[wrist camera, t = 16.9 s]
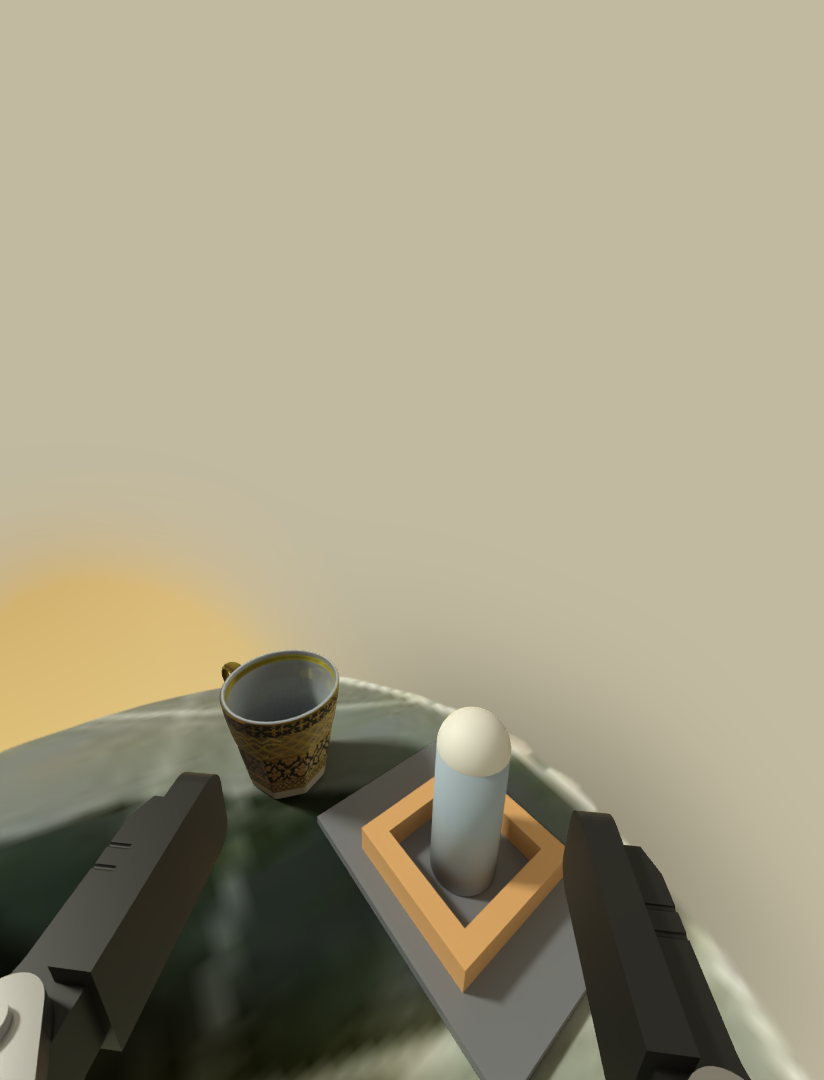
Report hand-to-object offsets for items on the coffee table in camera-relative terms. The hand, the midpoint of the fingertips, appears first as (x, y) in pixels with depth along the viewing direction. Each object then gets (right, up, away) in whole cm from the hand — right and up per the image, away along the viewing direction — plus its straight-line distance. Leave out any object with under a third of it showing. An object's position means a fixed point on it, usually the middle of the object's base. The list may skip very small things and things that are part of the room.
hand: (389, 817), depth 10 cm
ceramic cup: (-12, -15, +33) cm, 38 cm away
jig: (+4, -19, +24) cm, 31 cm away
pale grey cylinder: (+4, -18, +23) cm, 30 cm away
